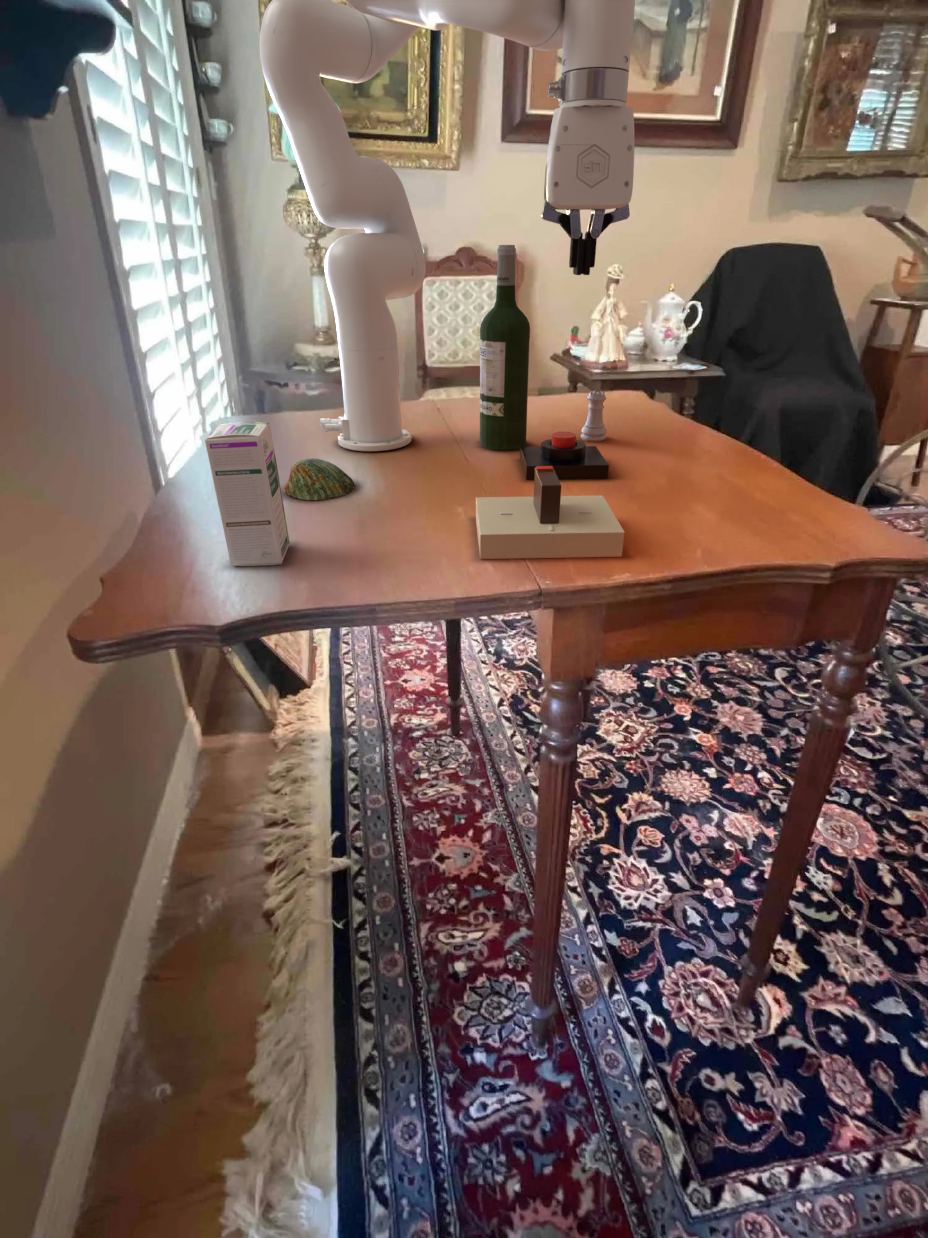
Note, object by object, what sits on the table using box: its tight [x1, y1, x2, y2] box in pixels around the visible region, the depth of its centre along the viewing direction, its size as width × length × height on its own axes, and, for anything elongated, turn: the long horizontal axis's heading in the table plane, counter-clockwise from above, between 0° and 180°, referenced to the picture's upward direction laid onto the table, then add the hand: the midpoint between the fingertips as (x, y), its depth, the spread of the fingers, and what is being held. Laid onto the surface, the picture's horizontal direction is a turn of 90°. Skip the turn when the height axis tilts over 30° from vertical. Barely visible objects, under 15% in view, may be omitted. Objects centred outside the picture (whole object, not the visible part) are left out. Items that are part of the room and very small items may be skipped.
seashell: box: [283, 458, 356, 501], centre depth 98 cm, size 10×4×10 cm
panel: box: [475, 494, 625, 560], centre depth 82 cm, size 16×12×3 cm
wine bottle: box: [479, 244, 531, 452], centre depth 110 cm, size 8×8×30 cm
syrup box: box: [204, 421, 290, 567], centre depth 75 cm, size 6×6×14 cm
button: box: [551, 431, 577, 448], centre depth 103 cm, size 4×4×2 cm
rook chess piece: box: [580, 389, 607, 443], centre depth 118 cm, size 4×4×8 cm
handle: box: [533, 466, 562, 523], centre depth 80 cm, size 6×2×5 cm, turn 2°
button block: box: [519, 438, 610, 481], centre depth 104 cm, size 12×10×4 cm
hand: (581, 273), depth 88 cm, fingers closed
